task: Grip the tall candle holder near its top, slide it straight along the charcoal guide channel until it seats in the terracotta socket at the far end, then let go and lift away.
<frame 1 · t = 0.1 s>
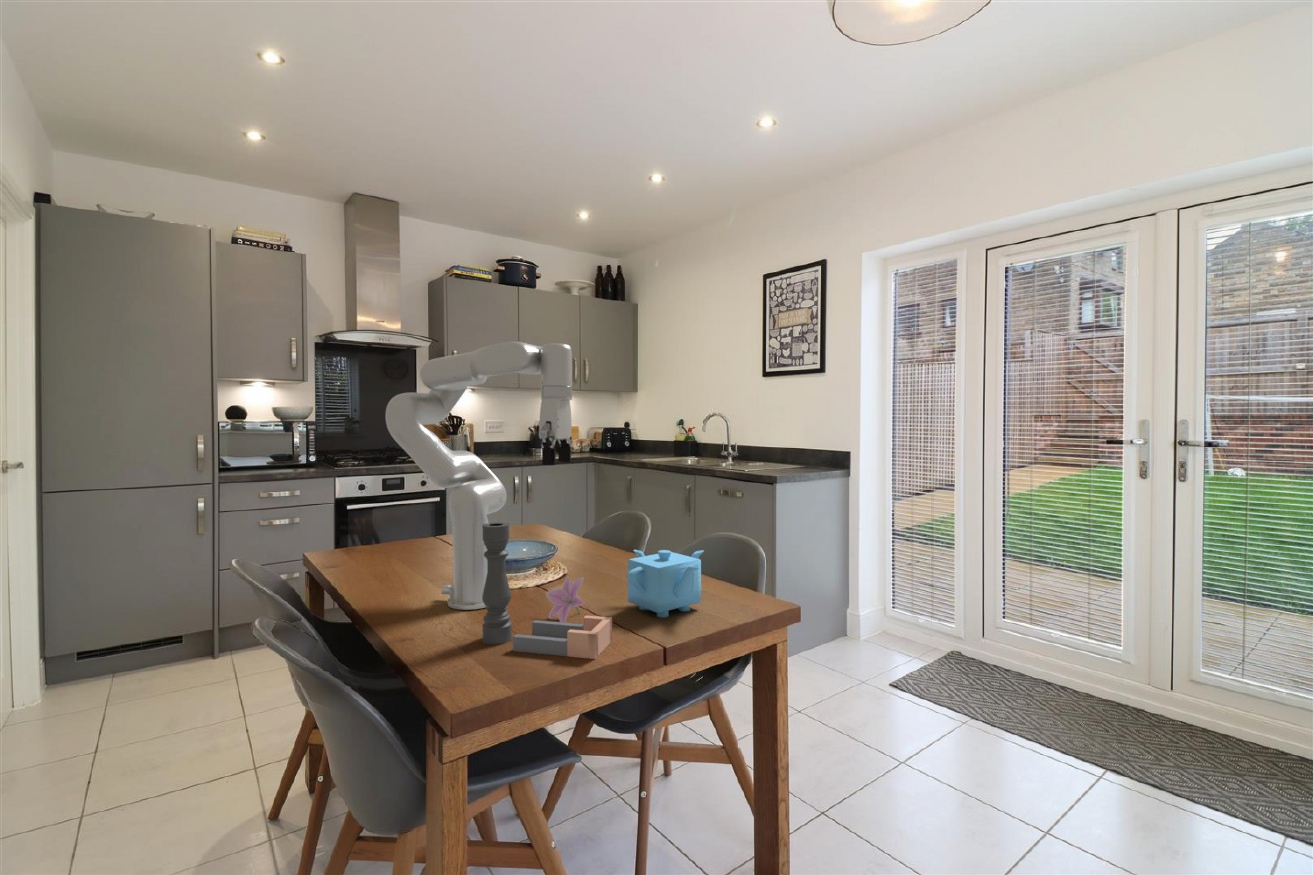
hand: (557, 463, 152), 37 cm above the table, tool pointing down, fingers open, 9 cm apart
guide channel: (563, 645, 129), on the table
candle holder: (497, 640, 133), on the table
lily: (566, 618, 147), on the table
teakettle: (667, 608, 154), on the table
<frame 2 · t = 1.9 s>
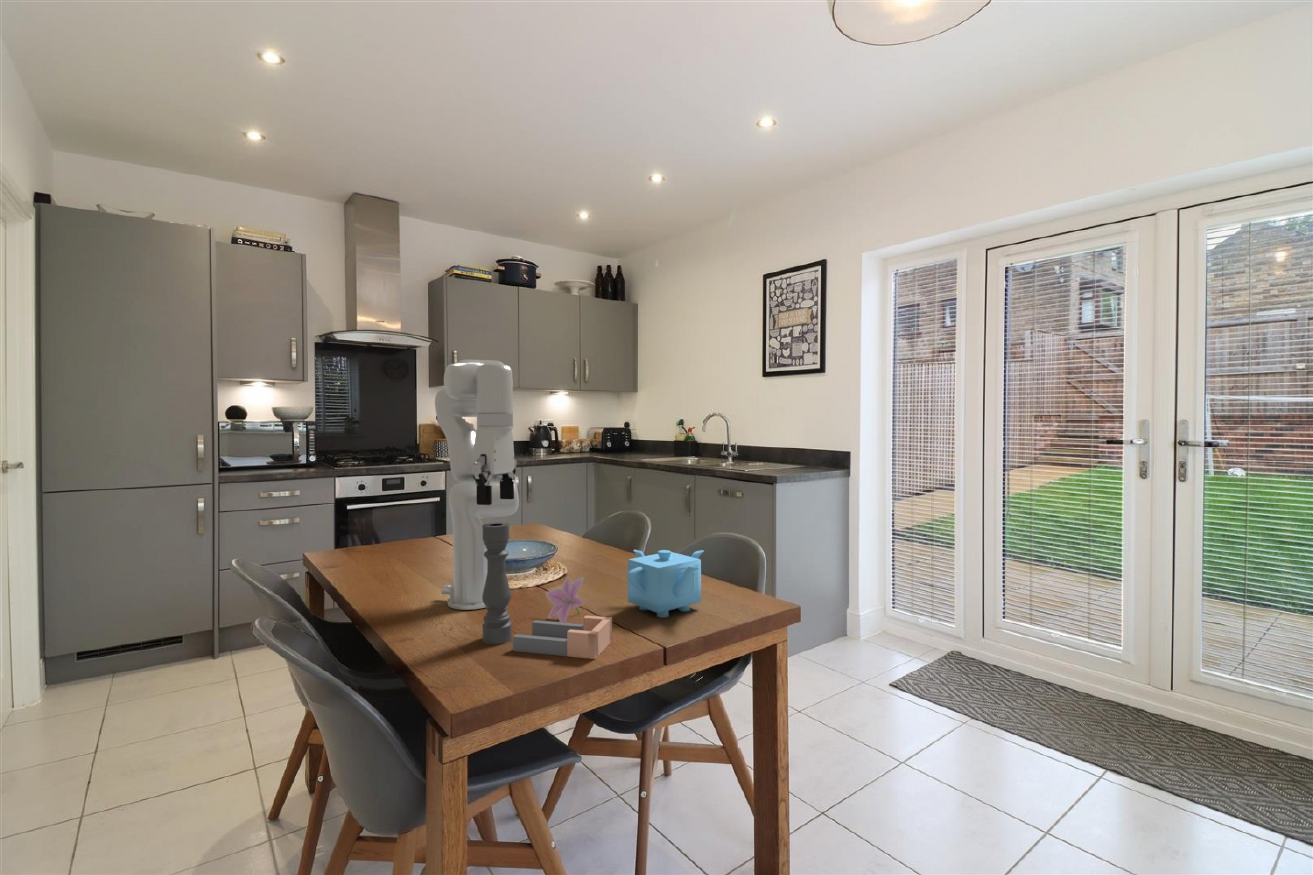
hand: (496, 501, 131), 30 cm above the table, tool pointing down, fingers open, 9 cm apart
nothing on the table moved.
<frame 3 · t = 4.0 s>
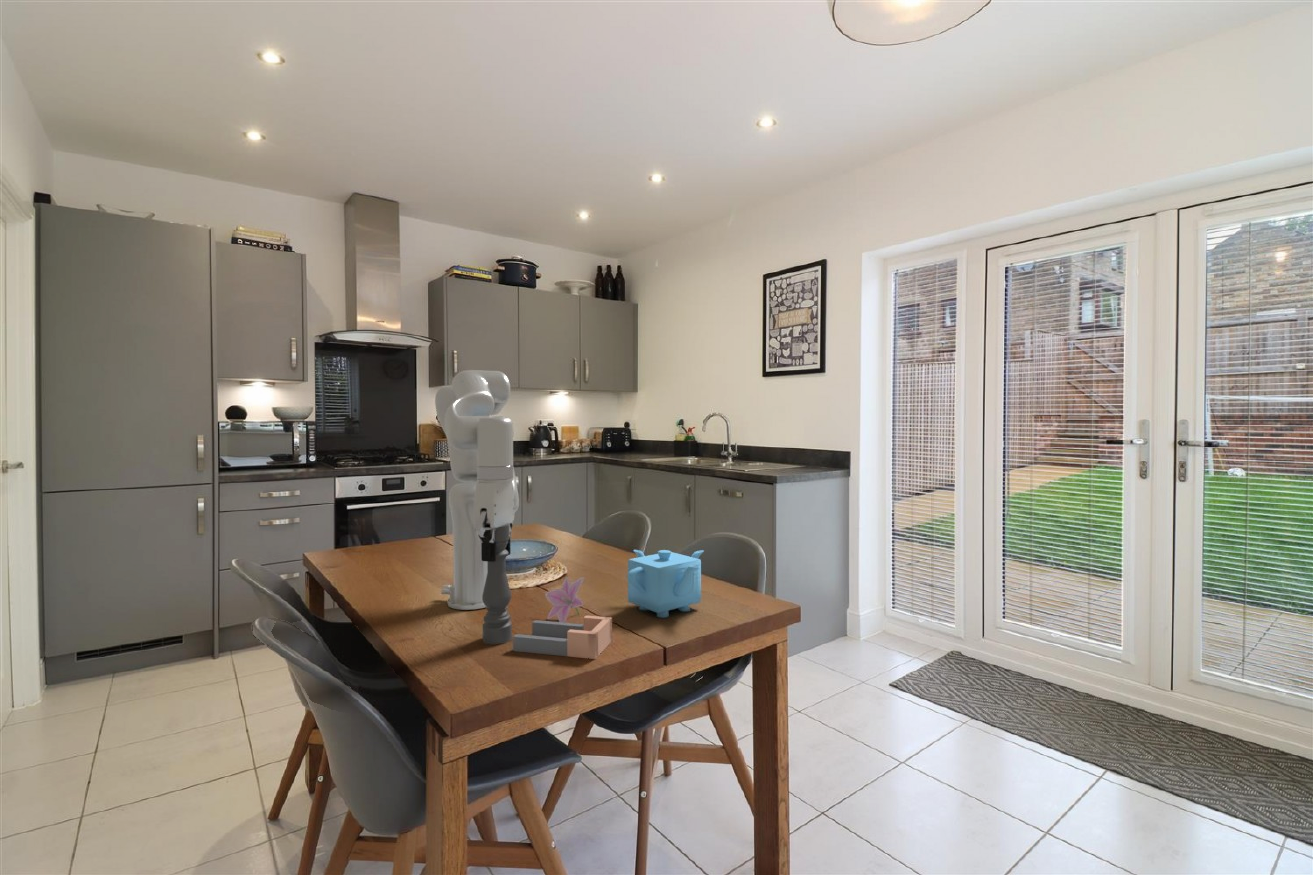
hand: (496, 556, 132), 18 cm above the table, tool pointing down, fingers closed on candle holder, 5 cm apart
candle holder: (497, 640, 133), on the table, touching gripper
everything else where it was.
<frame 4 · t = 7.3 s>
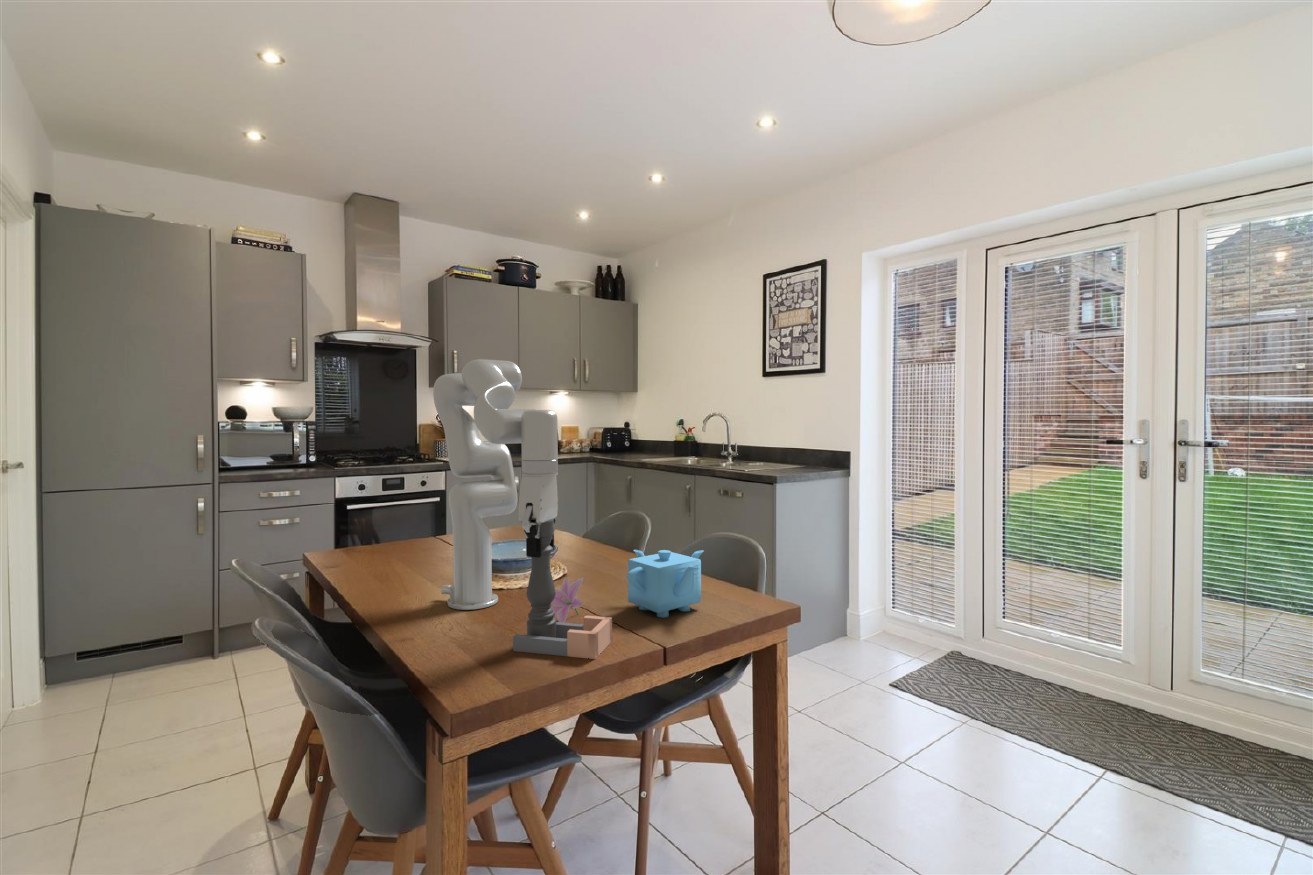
hand: (540, 552, 130), 19 cm above the table, tool pointing down, fingers closed on candle holder, 5 cm apart
candle holder: (541, 637, 130), point 1 cm above the table, touching gripper
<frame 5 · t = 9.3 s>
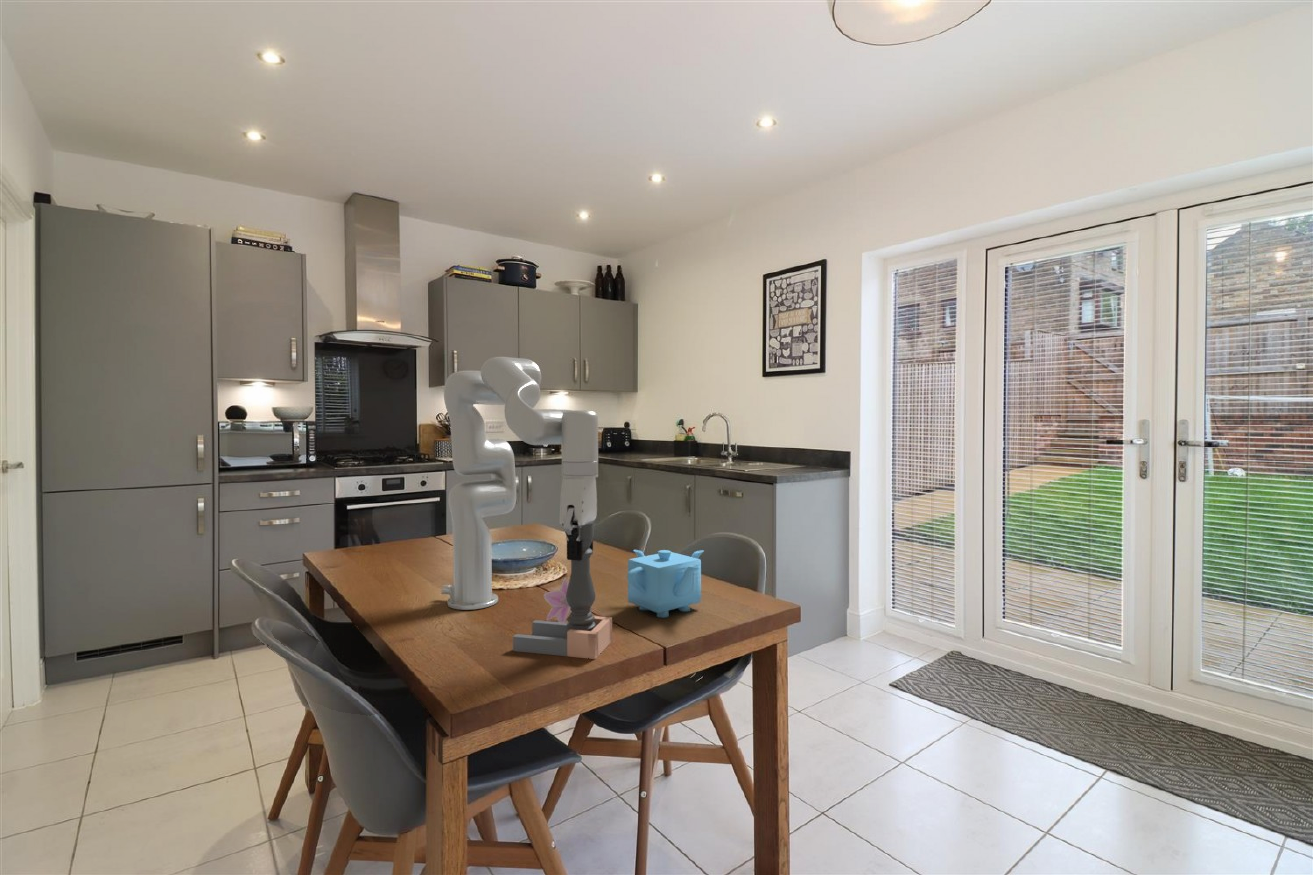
hand: (580, 555, 128), 19 cm above the table, tool pointing down, fingers closed on candle holder, 5 cm apart
candle holder: (581, 641, 128), point 1 cm above the table, touching gripper
when the fingers open (18 cm above the table, at t = 10.7 s): candle holder stays where it is, resting in guide channel.
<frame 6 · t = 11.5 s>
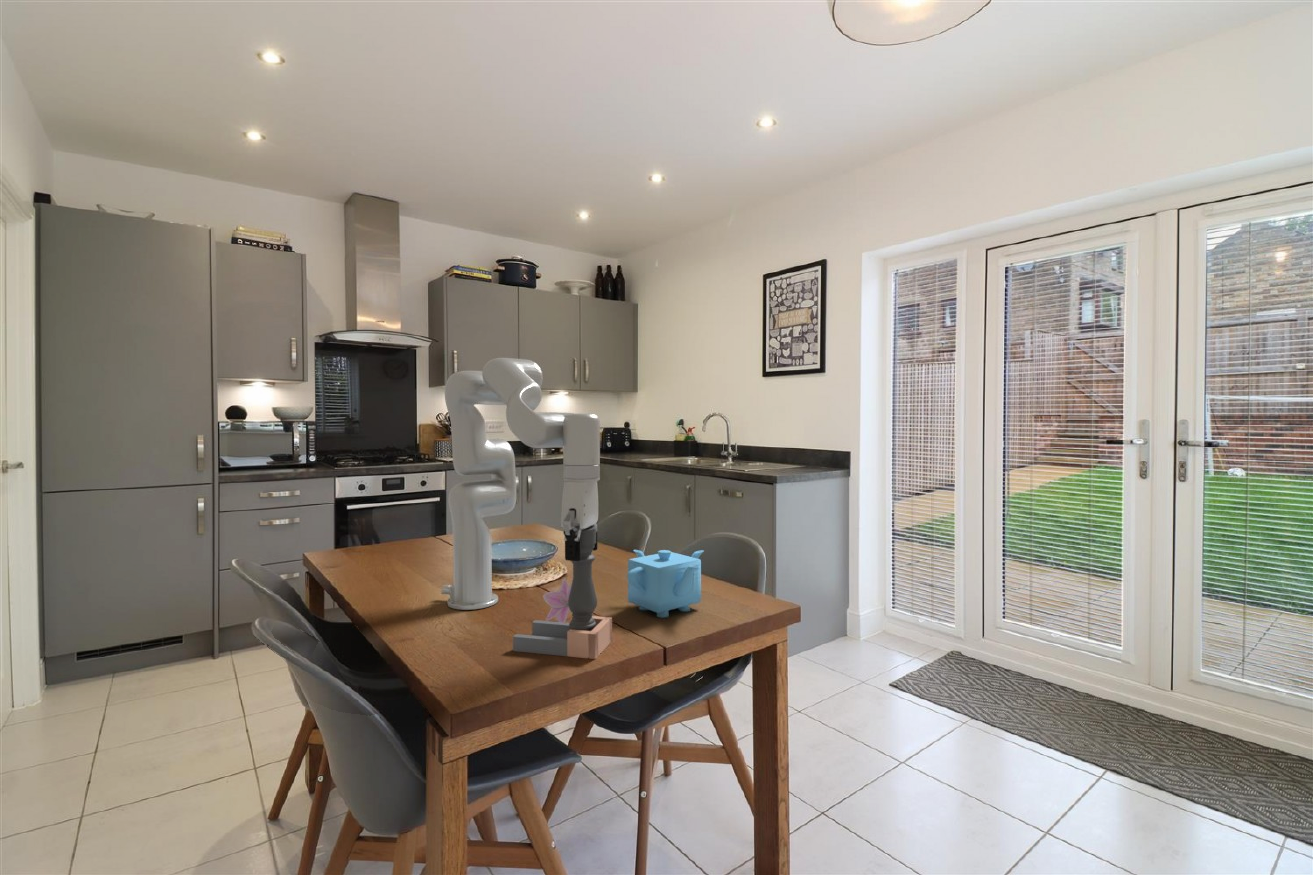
hand: (581, 554, 127), 19 cm above the table, tool pointing down, fingers open, 9 cm apart
candle holder: (582, 647, 129), resting in guide channel
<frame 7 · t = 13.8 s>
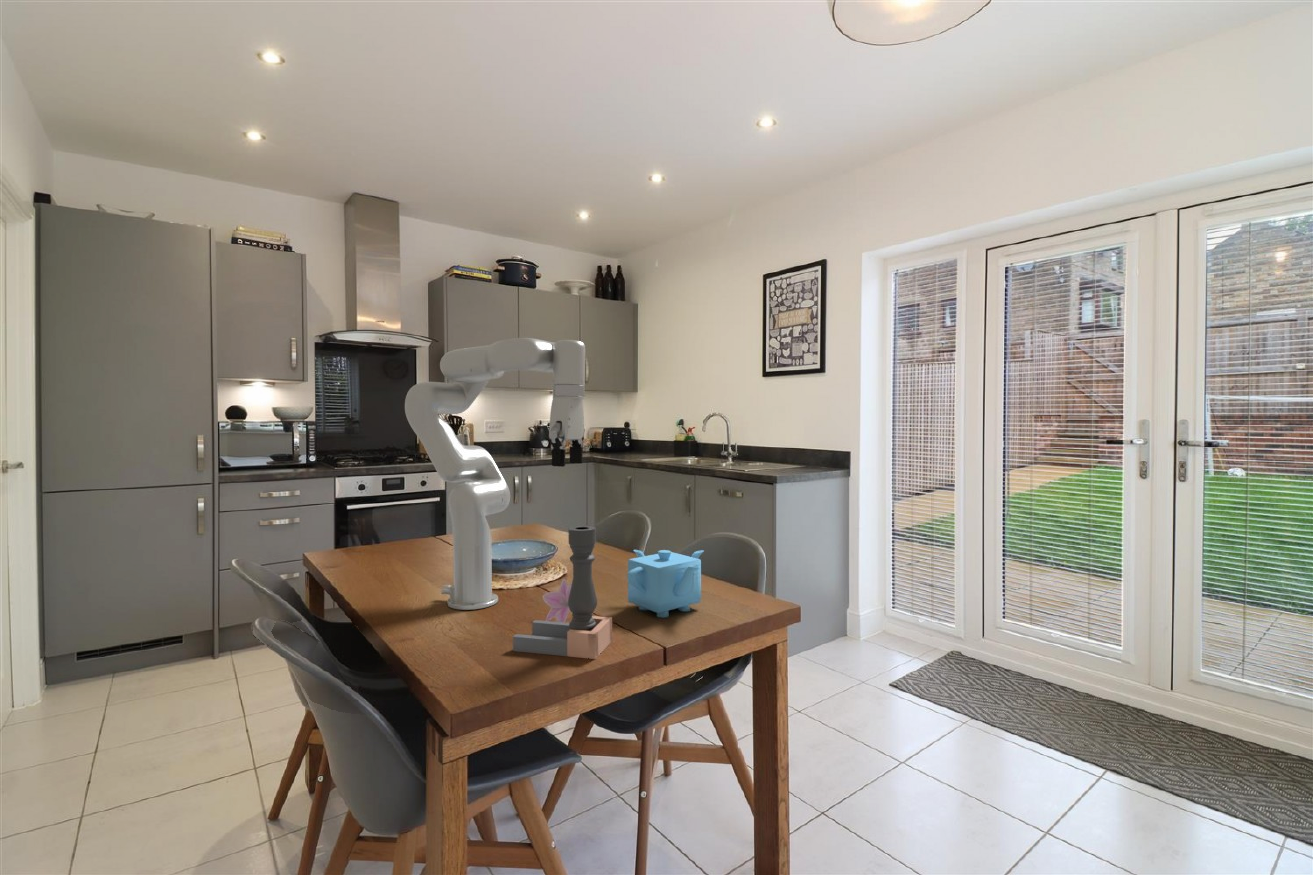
hand: (567, 464, 146), 37 cm above the table, tool pointing down, fingers open, 9 cm apart
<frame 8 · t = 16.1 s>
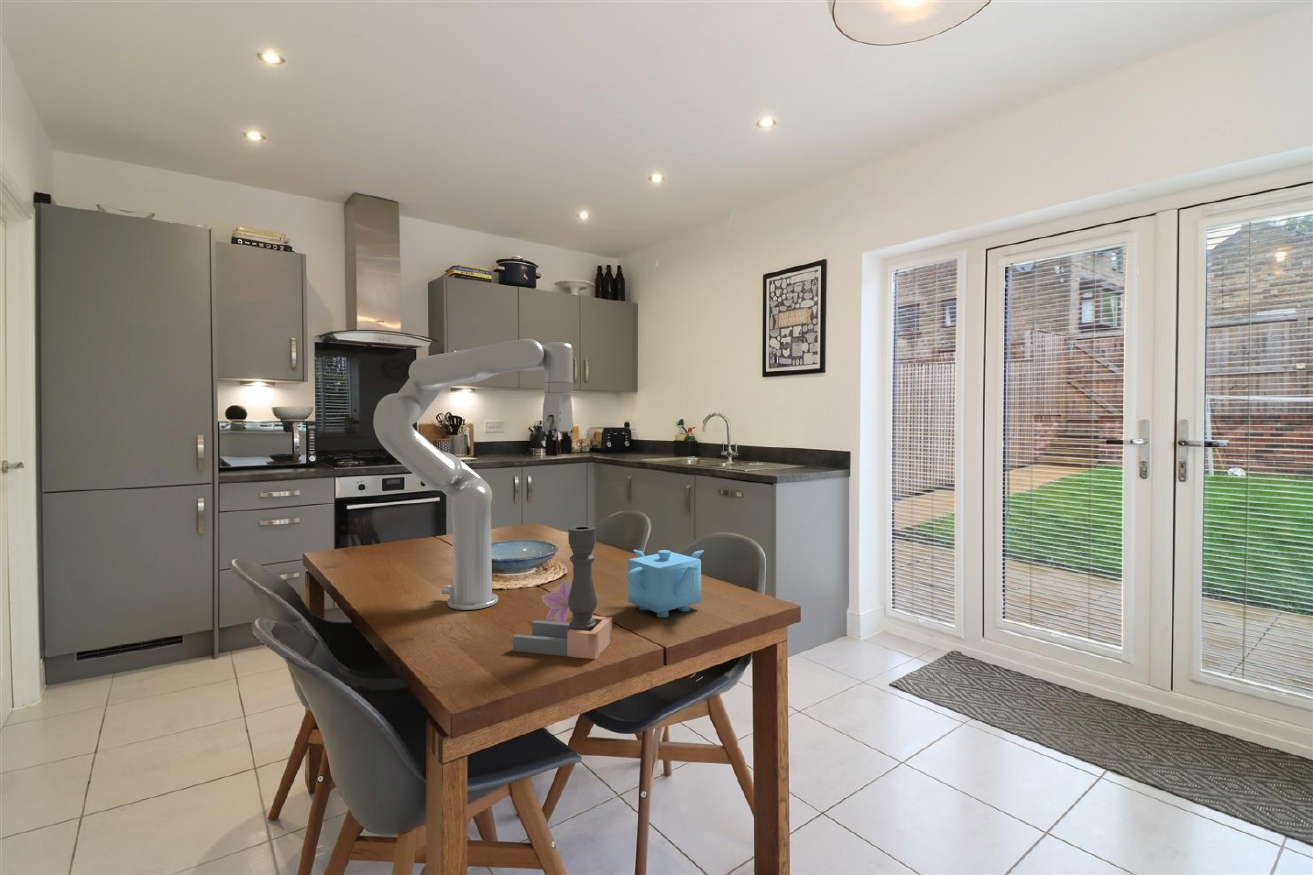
hand: (559, 454, 162), 38 cm above the table, tool pointing down, fingers open, 9 cm apart
at the end: candle holder 0.6 cm from the target spot on the guide channel, point 0.0 cm above the guide channel's base; candle holder tilted 0°; the gripper is holding nothing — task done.
